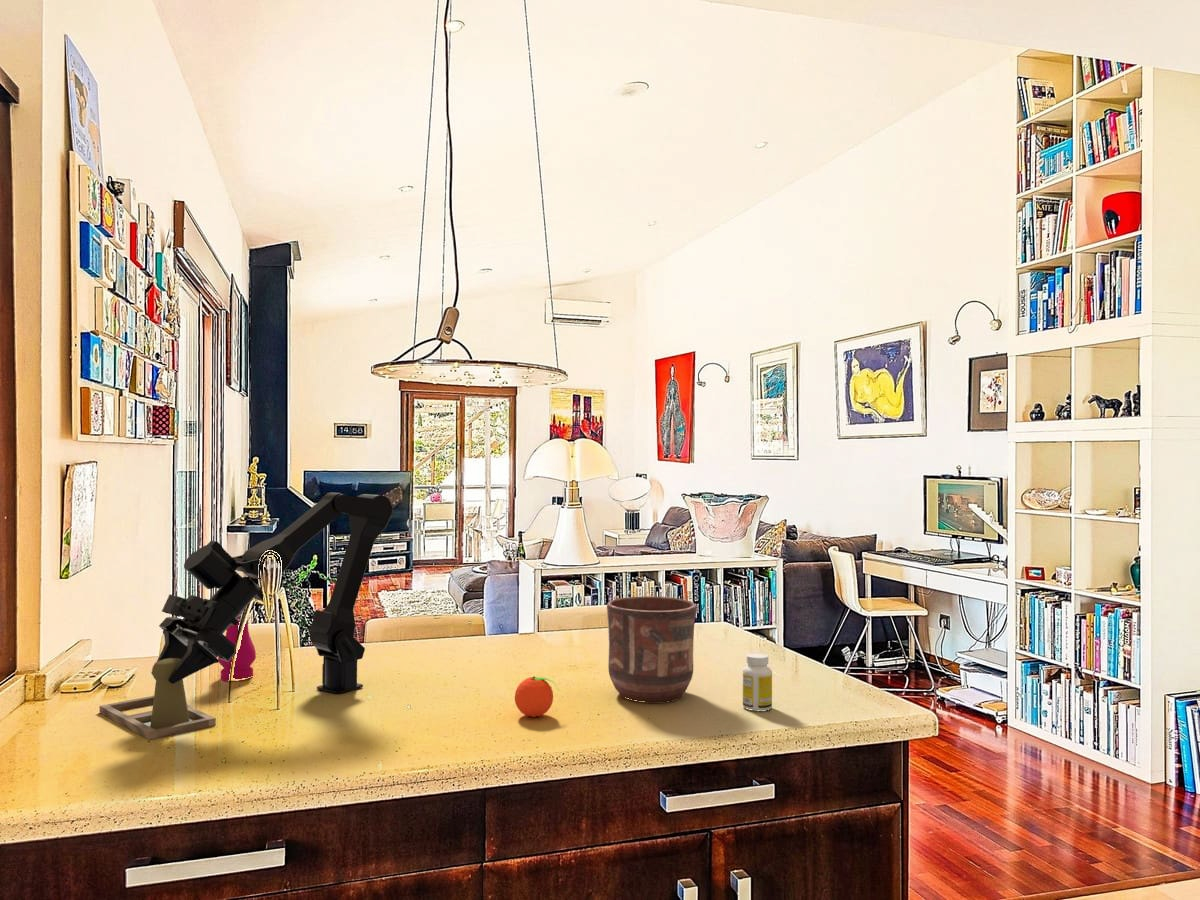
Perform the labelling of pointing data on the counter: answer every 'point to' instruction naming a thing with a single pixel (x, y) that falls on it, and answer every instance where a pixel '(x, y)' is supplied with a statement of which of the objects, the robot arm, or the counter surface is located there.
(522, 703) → the clementine
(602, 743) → the counter surface
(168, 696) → the cork
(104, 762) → the counter surface
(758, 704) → the supplement bottle
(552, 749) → the counter surface
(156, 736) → the brown wooden frame
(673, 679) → the pottery
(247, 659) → the pepper mill
